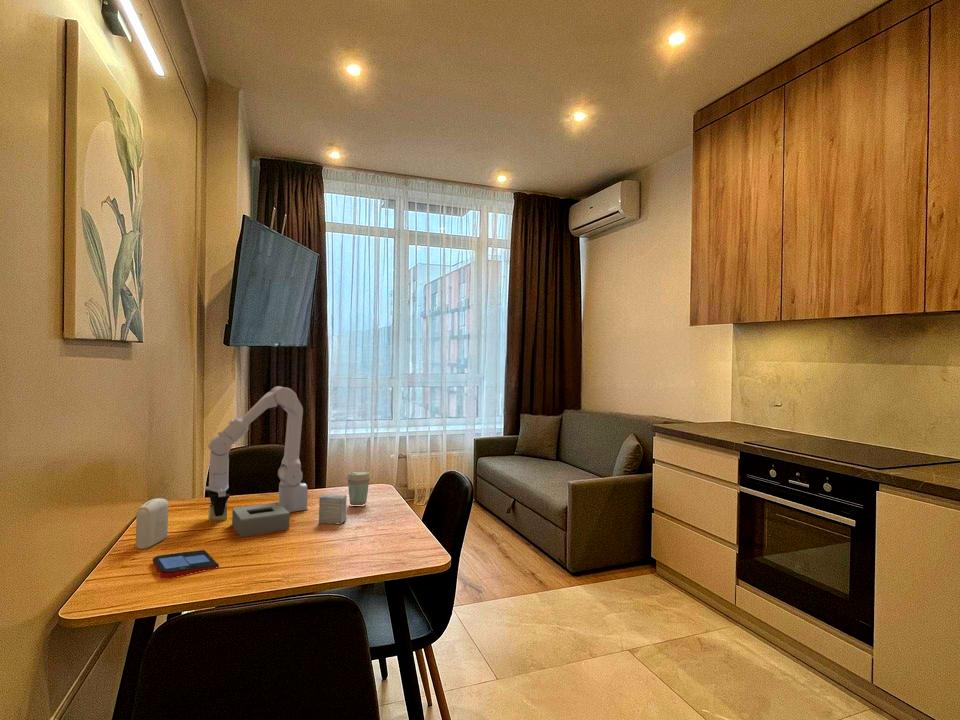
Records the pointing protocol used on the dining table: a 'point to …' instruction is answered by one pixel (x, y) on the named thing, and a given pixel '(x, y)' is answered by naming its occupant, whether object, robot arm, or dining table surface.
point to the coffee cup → (358, 487)
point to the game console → (183, 563)
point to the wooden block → (216, 518)
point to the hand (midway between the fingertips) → (217, 513)
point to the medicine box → (332, 508)
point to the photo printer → (151, 523)
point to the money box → (260, 519)
